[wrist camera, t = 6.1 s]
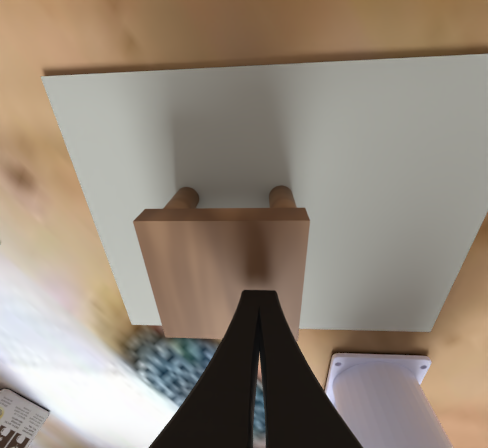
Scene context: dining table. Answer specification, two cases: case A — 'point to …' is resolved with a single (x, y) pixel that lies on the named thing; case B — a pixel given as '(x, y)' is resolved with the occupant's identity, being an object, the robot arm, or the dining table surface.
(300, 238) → the stool
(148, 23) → the dining table surface
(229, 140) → the mat
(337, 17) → the dining table surface
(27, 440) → the coffee box
